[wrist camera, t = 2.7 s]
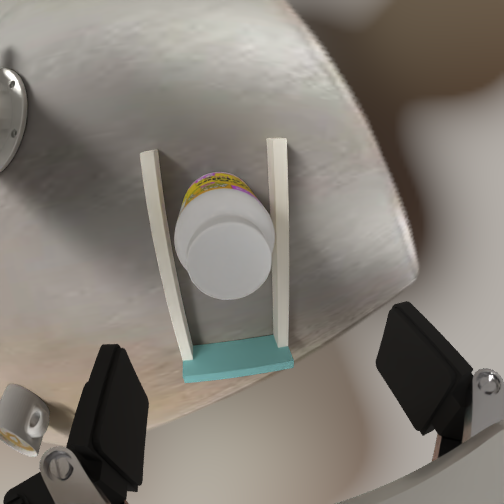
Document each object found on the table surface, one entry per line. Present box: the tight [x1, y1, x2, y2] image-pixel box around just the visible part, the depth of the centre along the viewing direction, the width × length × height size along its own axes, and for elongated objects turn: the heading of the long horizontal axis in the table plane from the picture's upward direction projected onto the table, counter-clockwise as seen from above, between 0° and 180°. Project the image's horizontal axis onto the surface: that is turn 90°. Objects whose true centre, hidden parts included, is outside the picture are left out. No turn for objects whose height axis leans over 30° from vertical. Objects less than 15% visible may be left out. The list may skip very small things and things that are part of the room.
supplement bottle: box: [174, 172, 275, 300], centre depth 21 cm, size 7×7×13 cm
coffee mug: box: [0, 384, 50, 457], centre depth 30 cm, size 13×10×10 cm
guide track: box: [140, 138, 294, 383], centre depth 27 cm, size 24×12×5 cm, turn 3°
